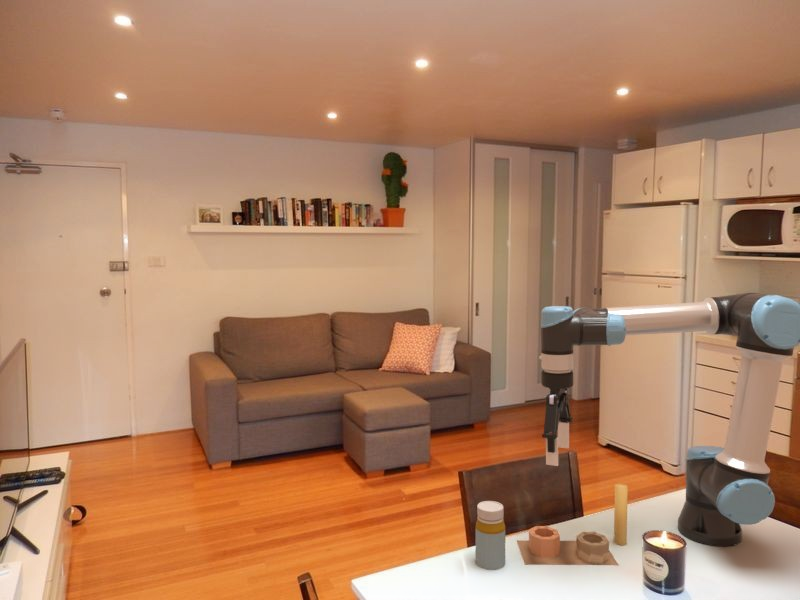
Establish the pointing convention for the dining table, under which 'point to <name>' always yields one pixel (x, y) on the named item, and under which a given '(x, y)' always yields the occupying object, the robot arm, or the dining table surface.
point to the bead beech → (592, 547)
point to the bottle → (490, 535)
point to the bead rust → (544, 541)
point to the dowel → (620, 515)
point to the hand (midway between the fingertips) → (558, 455)
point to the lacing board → (563, 558)
